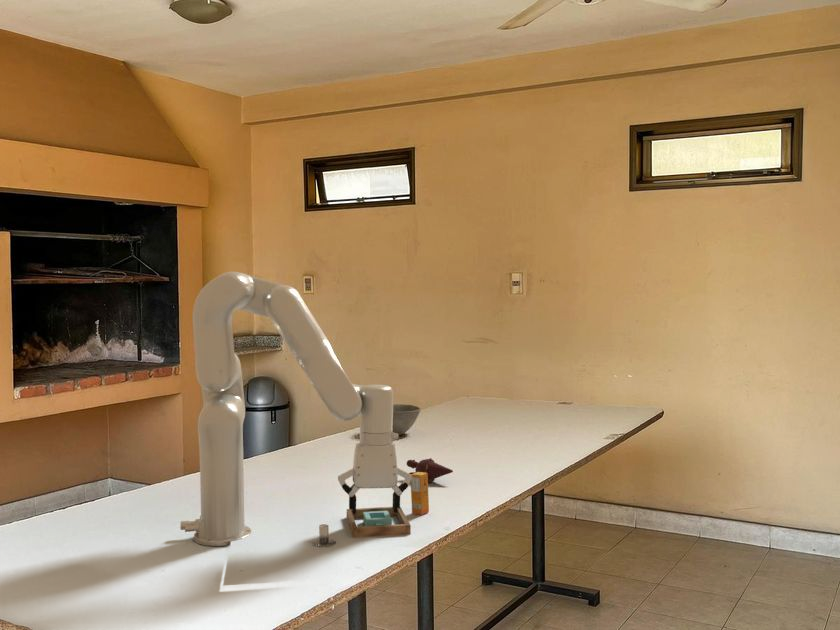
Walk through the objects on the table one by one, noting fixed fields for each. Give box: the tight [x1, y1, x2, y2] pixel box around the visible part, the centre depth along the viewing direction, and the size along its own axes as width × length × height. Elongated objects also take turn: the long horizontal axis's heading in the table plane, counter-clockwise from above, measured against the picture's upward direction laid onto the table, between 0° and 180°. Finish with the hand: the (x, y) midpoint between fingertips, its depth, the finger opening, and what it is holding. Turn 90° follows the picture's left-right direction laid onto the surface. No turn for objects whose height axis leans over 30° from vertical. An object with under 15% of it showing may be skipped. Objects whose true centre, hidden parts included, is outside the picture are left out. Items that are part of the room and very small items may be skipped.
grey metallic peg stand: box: [311, 523, 337, 548], centre depth 173 cm, size 5×5×5 cm
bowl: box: [392, 403, 422, 436], centre depth 297 cm, size 19×19×10 cm
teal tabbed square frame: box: [362, 511, 393, 526], centre depth 186 cm, size 10×6×3 cm, turn 11°
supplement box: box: [410, 471, 430, 516], centre depth 198 cm, size 3×3×10 cm
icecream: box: [406, 457, 454, 483], centre depth 229 cm, size 7×7×15 cm
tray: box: [346, 506, 412, 539], centre depth 186 cm, size 13×15×3 cm
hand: (374, 511), depth 185 cm, fingers open, 9 cm apart
